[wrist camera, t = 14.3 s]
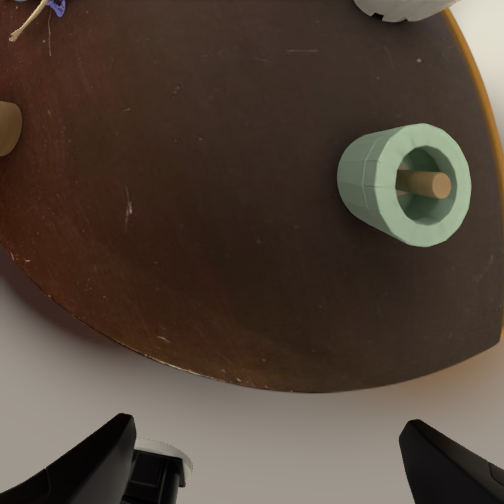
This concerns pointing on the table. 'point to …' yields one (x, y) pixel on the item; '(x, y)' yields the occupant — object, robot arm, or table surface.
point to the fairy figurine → (35, 14)
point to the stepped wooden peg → (422, 183)
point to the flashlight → (403, 8)
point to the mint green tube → (409, 205)
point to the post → (9, 126)
